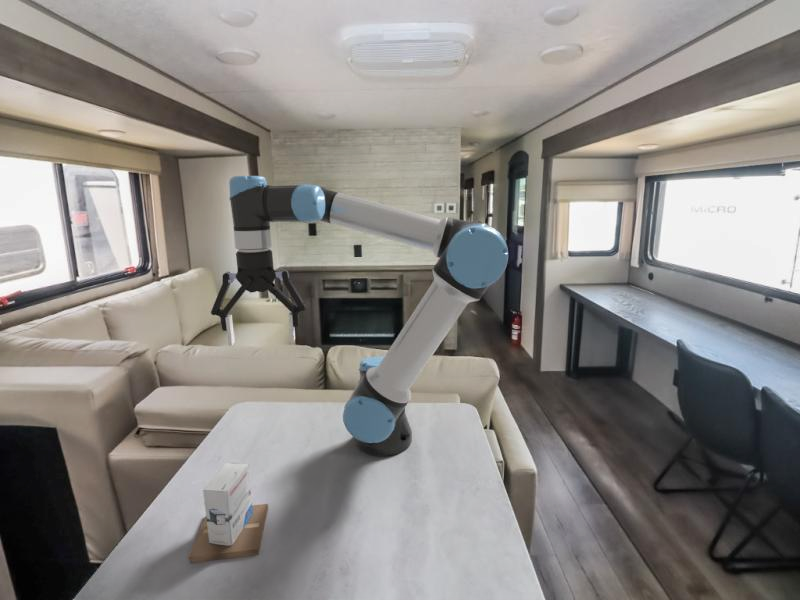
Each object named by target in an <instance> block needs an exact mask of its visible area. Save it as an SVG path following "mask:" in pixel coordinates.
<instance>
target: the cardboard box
mask: <svg viewBox="0 0 800 600" xmlns="http://www.w3.org/2000/svg"><path fill="white" fill-rule="evenodd" d="M252 511H253V514H252V515H251V517H250V518H249V520H248V521H247V523H246V525H245V526H244V528H243V529H242V531H241V533H240V534H239V536H238V537H237V539H236V540H235V542H234V544H233V545H231V546H227V545H219V544H213V543H209V536H208V527H207V518H206V515H205V516H204V519H203V521H202V524H201V527H200V529H199V530H198V533H197V536H196V539H195V541H194V543H193V546H192V548H191V551H190V554H189V556H188V561H189V563H190V564H192V563H198V562H199V563H201V562H209V561H216V560H223V559H232V558H241V557H247V556H249V557H250V556H257V555H259V553H260V548H261V544H262V540H263V534H264V530H265V526H266V521H267V516H268V511H269V504H268V503H261V504H252Z"/></svg>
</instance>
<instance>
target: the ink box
mask: <svg viewBox="0 0 800 600" xmlns="http://www.w3.org/2000/svg"><path fill="white" fill-rule="evenodd" d="M202 492H203V499H204V501H203V502H204V506H205V507H204V508H205V516H206V518H207V527H208V536H209V543H213V544H219V545H227V546H231V545H233V544H234V542H235V540H236V539H237V537H238V536H239V534H240V533H241V531H242V529H243V528H244V526H245V525H246V523H247V521H248V520H249V518H250V517H251V515H252V514H253V511H252V505H253V501H252V493H251V482H250V469H249V464H248V463H241V462H225V463H224V465H223V466H222V467H221V469H220V470H219V471H218V472H217V473H216V475H215V476H214V477H213V478H211V481H209V483H208V484H207V485H206V486H205V488H204V489H203V490H202Z"/></svg>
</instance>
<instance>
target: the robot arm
mask: <svg viewBox="0 0 800 600" xmlns="http://www.w3.org/2000/svg"><path fill="white" fill-rule="evenodd" d="M228 182H229V183H228V185H229V201H230V206H231V207H230V209H231V217H232V225H233V238H234V248H235V249H236V250H238V251H236V252H235V257H236V266H237V267H236V268H237V272H236V273H234V272H230V271H226V272H224V273H223V274H222V284H221V287H220V289H219V291H218V294H217V297H216V298H215V301H214V303H213V306H212V308H211V311H210V315H212V316H218V317H219V318H220V322H221V330H222V332H224V331H225V332H226V333H227V343H228V344H227V346H229V347H232V346H233V345H234V344H235V342H236V341H235V331H234V322H233V314H229V313H230V311H231V310H232V309H233V307H234V306H235V304H236V303H237V302H238V301H239V300H240V299H241V298H242V296H243V294H244V293H245V292H246V291H247V292H249V293H251V294H252V293H256V292H259V293H264V292H266V291H268V292H269V293H271V294H272V295H273V296H274V297H275V298H276V299H277V300H278V301H279V302H280V303H281V304H282V305H283V306H284V307H285V308H286V309H287V310H288V311H289V313H288V324H289V338H290V343H295V339H296V331H295V328H298V326H299V324H300V321H299V313H300V312H304V311H305V310H306V307H307V305H306V303H305V301H304V300H303V298H302V296H301V295H300V293H299V291H298V289H297V288H296V286H295V285H294V284H293V281H292V280H291V279H290V273H289V270H288V269H284V270H282V271H275V269H274V258H273V251H272V250H271V249H270V248H272V246H273V245H272V234H271V223H276V222H278V223H279V222H280V223H281V222H284V223H285V222H286V223H287V222H288V223H293V222H294V223H301V222H302V223H305V224H307V223H312V222H319V221H320V222H324V223H328V224H330V225H331V224H333V225H335V226H338V227H339V226H340V227H342V228H343V227H344V228H346V229H350V230H354V231H357V232H362V233H364V234H369V235H371V236H374V237H376V236H377V237H379V238H383V239H386V240H390V241H394V242H396V243H397V242H398V243H401V244H404V245H407V246H411V247H415V248H419V249H422V250H426V251H429V252H432V253H433V254H434V256H435V257H436V258H438V260H437V261H436V263H435V264H434V267H433V268H432V270H431V271H432V275H433V281H432V283H431V284H430V285H429V288H428V289H427V290H426V292H425V293H424V295H423V297H422V298H421V300H420V301H419V302H418V304H417V305H416V307H415V309H414V310H413V312H412V314H411V315H410V317H409V318H408V320H407V321H406V322H405V324H404V326H403V328H402V329H401V330H400V332H399V334H398V335H397V337H396V338H395V340H394V341H393V343H392V344H391V346H390V348H389V349H388V350H387V352H386V353H385V355H383V356H382V355H381V356H371V357H367V358H364V359H362V360H361V361H360V363H359V368H358V371H359V380H358V382H357V384H356V386H355V388H354V389H353V392H352V394H351V396H350V397H349V399H348V401H346V403H345V405H344V409H343V412H342V421H343V425H344V427H345V429H346V431H347V432H348V433H349V434H350V435H351V436H352V437H354V438H355V444H356V446H357V447H358V449H359V450H360V451H362V452H364V453H366V454H369V455H373V456H381V457H385V456H387V457H388V456H393V455H397V454H399V453H401V452H403V451H406V449H408V448H409V447H410V446H411V444H412V441H413V436H412V435H413V432H412V431H413V430H412V428H411V425H410V422H409V420H408V417H407V413H406V406H407V405H408V404H409V402H410V400H411V399H412V392H411V387H412V385H413V384H414V383H415V381H416V380H417V379H418V377H419V375H420V374H421V373H422V371H423V370H424V369H425V366H426V365H427V364H428V362H429V361H430V359H431V358H432V357H433V355H434V353H435V352H436V351H437V350H438V349H439V346H440V345H441V343H442V342H443V340H444V339H445V337H446V336H447V334H448V333H449V332H450V330H451V329H452V327H453V326H454V325H455V323H456V322H457V320H458V318H459V317H460V316H461V315H462V313H463V311H464V310H465V309H466V307H467V306H468V304H469V303H472V302H478V301H480V300H481V298H483V295H484V294H485V292H487V290H488V288H489V287H490V286H491V285H493V284H495V283H496V282H497V281H498V280H499V279H500V278H501V277H502V275H503V274H504V272H505V271H506V268H507V265H508V260H509V248H508V245H507V242H506V240H505V237H503V235H502V234H501V232H499V231H498V230H497V229H495V228H494V227H492V226H491V225H489V224H488V223H485V222H482V221H474V220H473V221H472V220H463V219H459V218H458V219H456V218H452V217H449V216H446V217H444V218H441V219H440V218H435V217H432V216H427V215H424V214H421V213H417V212H413V211H410V210H407V209H406V210H405V209H401V208H400V207H399V208H398V207H394V206H391V205H387V204H383V203H379V202H376V201H372V200H368V199H365V198H361V197H357V196H353V195H349V194H345V193H342V192H337V191H334V190H330V189H328V188H327V187H324V186H319V185H314V184H305V183H304V184H290V185H288V184H287V185H285V184H284V185H268V183H267V179H266V178H265V177H264V176H261V175H236V176H232V177H231V178H230V179H229V181H228ZM276 279H279V281H280V282H283V284H284V286H285V288H286V289H287V291H288V292H289V294H290V295H291V297H292V299H293V301H294V302H293V301H292V300H291V299H290V298H289V297H288V296H287V295H285V293H284V292H282V290H281V289H280V288H279V287H278V286H277V285H276V284H275V283H274V282H275V280H276ZM235 280H237V282H238V283H239V284H240V285H241V286H240V287H239V288H238V289H237V291H236V292H235V293H234V295H233V297H232V298H230V300H229V302H228V303H227V304H226V305H225V306H224V308H223V309H222V305H223V303H224V300H225V298H226V296H227V293H228V291H229V289H230V285H231V284H232V283H233V282H234V281H235Z"/></svg>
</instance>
